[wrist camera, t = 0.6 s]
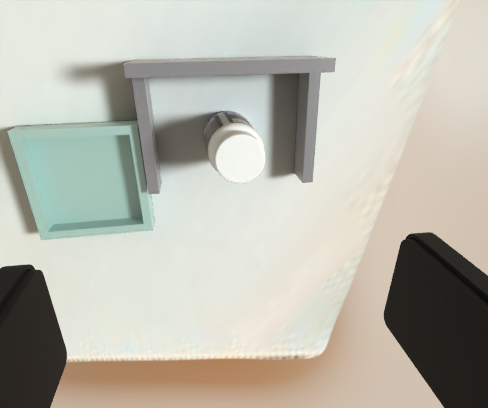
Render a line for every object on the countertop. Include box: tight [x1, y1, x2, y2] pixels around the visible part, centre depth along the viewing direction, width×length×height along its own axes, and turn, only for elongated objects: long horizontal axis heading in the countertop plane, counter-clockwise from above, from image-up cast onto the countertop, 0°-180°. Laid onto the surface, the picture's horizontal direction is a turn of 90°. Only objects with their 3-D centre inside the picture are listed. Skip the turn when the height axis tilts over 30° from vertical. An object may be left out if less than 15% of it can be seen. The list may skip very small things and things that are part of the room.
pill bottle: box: [204, 111, 265, 183], centre depth 30 cm, size 5×5×8 cm
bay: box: [123, 56, 336, 194], centre depth 31 cm, size 12×16×6 cm
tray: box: [7, 120, 155, 240], centre depth 33 cm, size 11×11×2 cm
